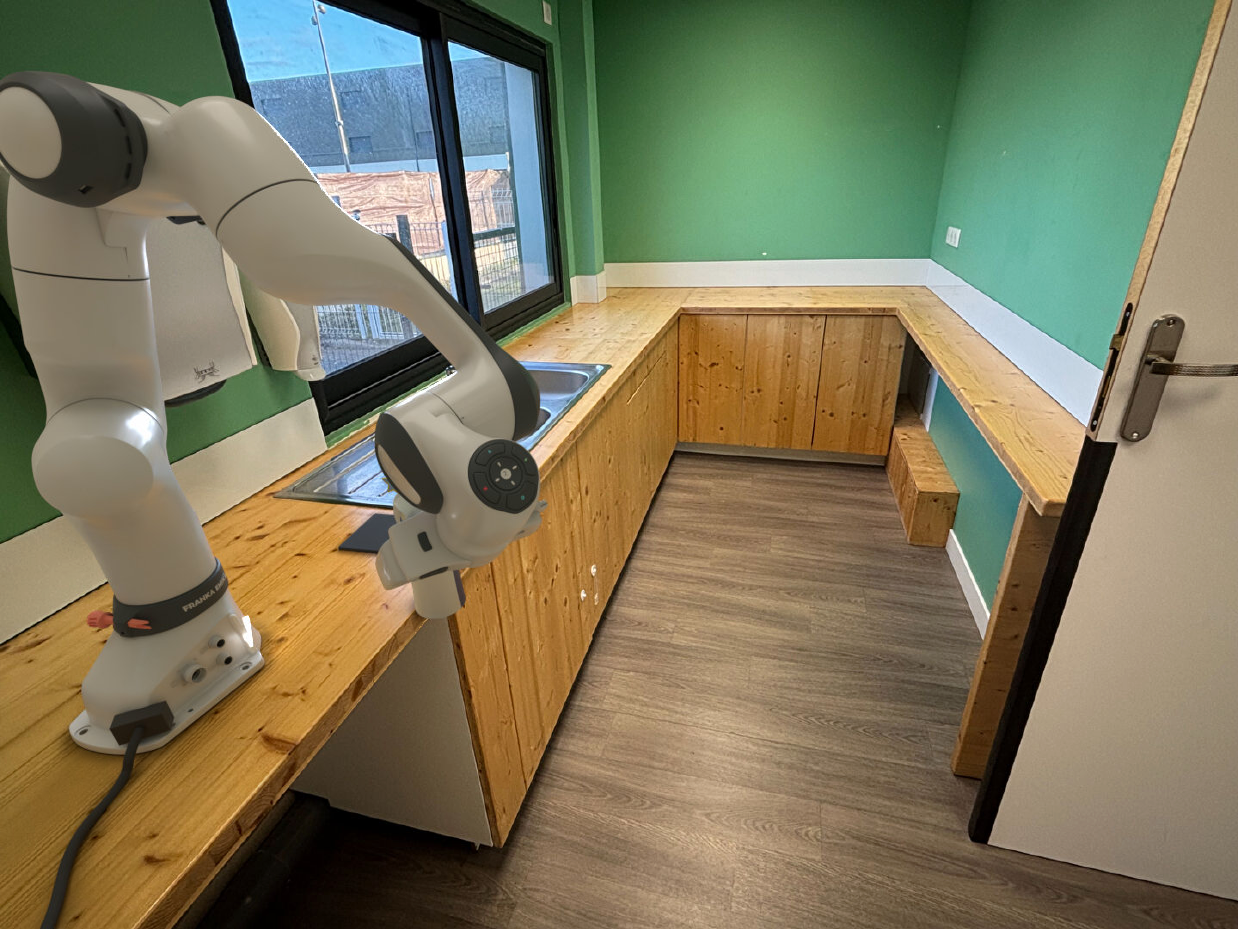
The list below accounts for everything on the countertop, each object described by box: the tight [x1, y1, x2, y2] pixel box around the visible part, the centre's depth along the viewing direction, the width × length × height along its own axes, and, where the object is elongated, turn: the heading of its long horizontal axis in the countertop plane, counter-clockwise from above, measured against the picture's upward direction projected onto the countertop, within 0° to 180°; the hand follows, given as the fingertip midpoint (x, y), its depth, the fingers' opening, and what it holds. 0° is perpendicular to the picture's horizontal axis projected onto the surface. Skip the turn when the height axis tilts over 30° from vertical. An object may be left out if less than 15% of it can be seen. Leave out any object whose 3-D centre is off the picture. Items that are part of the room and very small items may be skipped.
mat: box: [337, 513, 402, 554], centre depth 113 cm, size 12×12×1 cm
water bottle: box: [380, 477, 467, 620], centre depth 89 cm, size 8×9×25 cm
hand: (453, 558), depth 80 cm, fingers closed
